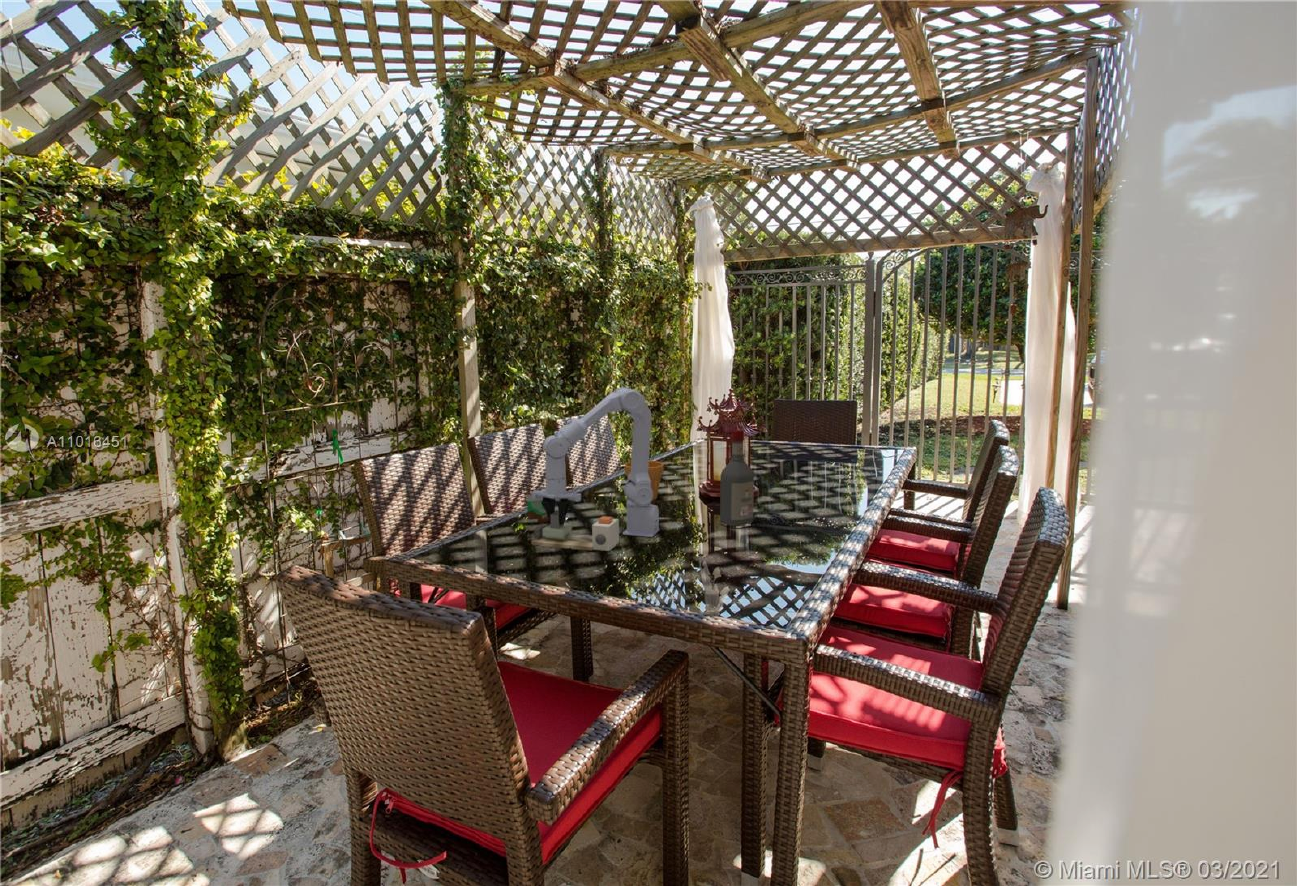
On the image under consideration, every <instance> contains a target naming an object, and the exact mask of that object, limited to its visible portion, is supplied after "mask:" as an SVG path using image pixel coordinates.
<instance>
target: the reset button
mask: <svg viewBox="0 0 1297 886" xmlns="http://www.w3.org/2000/svg"><path fill="white" fill-rule="evenodd" d="M612 519H613V517H612V516H604V515H603V516H601V517H599V518H598V521H599V524H611V523H612Z"/></svg>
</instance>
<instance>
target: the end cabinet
mask: <svg viewBox="0 0 1297 886" xmlns="http://www.w3.org/2000/svg"><path fill="white" fill-rule="evenodd" d="M619 522H620V519H619V518H612V523H611V524H599V520H598V521H596V522H594V523H593V524H592V525H591V528H592V529H591V530H592V531H591V533H592V534H591V536H592V543H593V550H595V551H605V552H610V551H612V550H613V549H614V548H615V547H616V546H617V545H618V544H619V543H620V531H619V530H620V525H619V524H620V523H619ZM616 544H617V545H616ZM593 550H592V551H593Z"/></svg>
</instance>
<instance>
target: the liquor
mask: <svg viewBox="0 0 1297 886" xmlns="http://www.w3.org/2000/svg"><path fill="white" fill-rule="evenodd" d="M744 432H745V430H744V429H732V430H731V441H732V444H731V446H732V447H731V451H732V452H731V459H730V461H729V462H728V463H727V464H726V465H725V467H724V468H723V469H722V471H721V473H720V484H719V485H720V492H719V493H720V495H719V496H720V499H719V502H720V503H719V505H720V506H719V523H720V524H721V523H724V524H727V525H730V526H741V525H744V524H747V523H752V522H753V523H754V492H755V491H754V490H755V489H754V484H755V473H754V472H753V470H752V468H751V467H750V466H749V465H748V464H747V463H746V461H745V458H744V440H745V439H744V438H745V437H744V436H745V433H744Z"/></svg>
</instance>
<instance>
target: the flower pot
mask: <svg viewBox="0 0 1297 886" xmlns="http://www.w3.org/2000/svg"><path fill="white" fill-rule="evenodd" d="M664 465H665V464H664V463H663V462H661V461H656V460H649V466H648V475H649V478H650V480H651V489H652V491H653V498H652V501H655V500H656V499H657V498H658V493H659V488H660V484H661V479H662V476H663V475H664V472H665V471H664V470H665V469H664ZM630 472H631V461H628V462H626V463H624V475H625V476H626V477H627V478H628V475H629V473H630Z"/></svg>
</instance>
